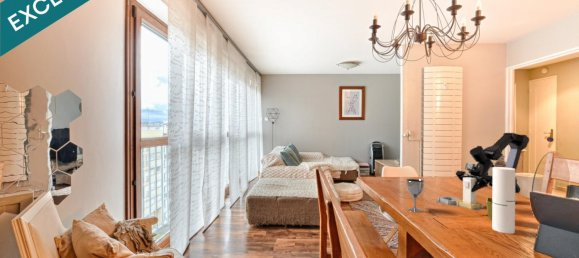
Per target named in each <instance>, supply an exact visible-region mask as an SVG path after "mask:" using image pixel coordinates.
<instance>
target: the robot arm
mask: <svg viewBox="0 0 579 258" xmlns="http://www.w3.org/2000/svg"><path fill="white" fill-rule="evenodd" d="M529 142H530V138H529V136H528V135H527V134H520V133H519V134H518V133H515V132H504V133H503V134H502V136H501V137H500V138H499V139H497V140H496V142H495V143H494V144H492V145H491V146H487V147H485V148H483V146H482V145H477V146H476V147H473V148H472V149H470V150H469V154H470V155H471V157H472V158H473V160H474V161H475V162H477V163H470V162H467V163H466V164H465V168H464V169H465V170H466V171H468V173H469V174H468V173H466V171H464V170H457V171H456V172H455V175H456V177H457V178H458V180H460V181H461V182H463V178H465V177H471V178H476V183H475V185H474V186H473V188H472V190H471V192H475V191H476V192H477V191H478V190H481V189H484V188H487V187H488V186H490V187H492V188H493V175H489V170H490V169H491V168H493V167H495V165H494V162H493V161H496V162H497V161H499V160H500V158H501V157H502V156H503V151H504V150H505V149H506V148H507V147H508V146H509V152H508V155H507V159H506V162H505V163H506V164H505V166H504V167H506V168H513V169H515V173H516V172H517V170H518V169H517V167H518V164H519V161H520V157H521V154H522V152H523V150H525V149H526V148H527V146H528V144H529ZM516 193H517V194H519V193H521V187H520V186H519V184H518V179H517V177H516V175H515V194H516ZM516 202H517V203H518V201H517V200H515V204H517V203H516Z"/></svg>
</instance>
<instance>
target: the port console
mask: <svg viewBox="0 0 579 258" xmlns="http://www.w3.org/2000/svg"><path fill="white" fill-rule="evenodd" d="M435 203H439V204H443V205H448V206H453V207H458V208H463V209H468V210H474V211H481V210H482V209H484V208H485V207H486V208H487V205H486V206H485V205H483V202H479V201H478V202H477V201H476V204H468V203H464V202H463V199H459V198H457V197H456V198H455V197H454V196H437V201H435Z"/></svg>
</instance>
